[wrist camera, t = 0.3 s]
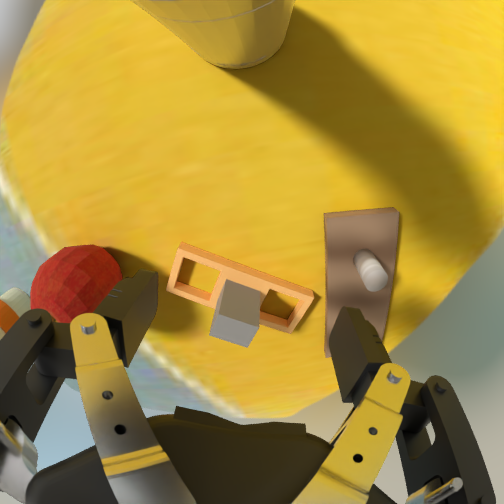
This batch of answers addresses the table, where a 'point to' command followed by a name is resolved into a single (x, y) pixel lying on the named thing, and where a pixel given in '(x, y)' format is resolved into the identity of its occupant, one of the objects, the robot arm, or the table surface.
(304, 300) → the hole bar
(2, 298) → the reusable coffee cup
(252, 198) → the table surface
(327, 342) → the pin board
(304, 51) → the table surface
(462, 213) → the table surface
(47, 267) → the apple
